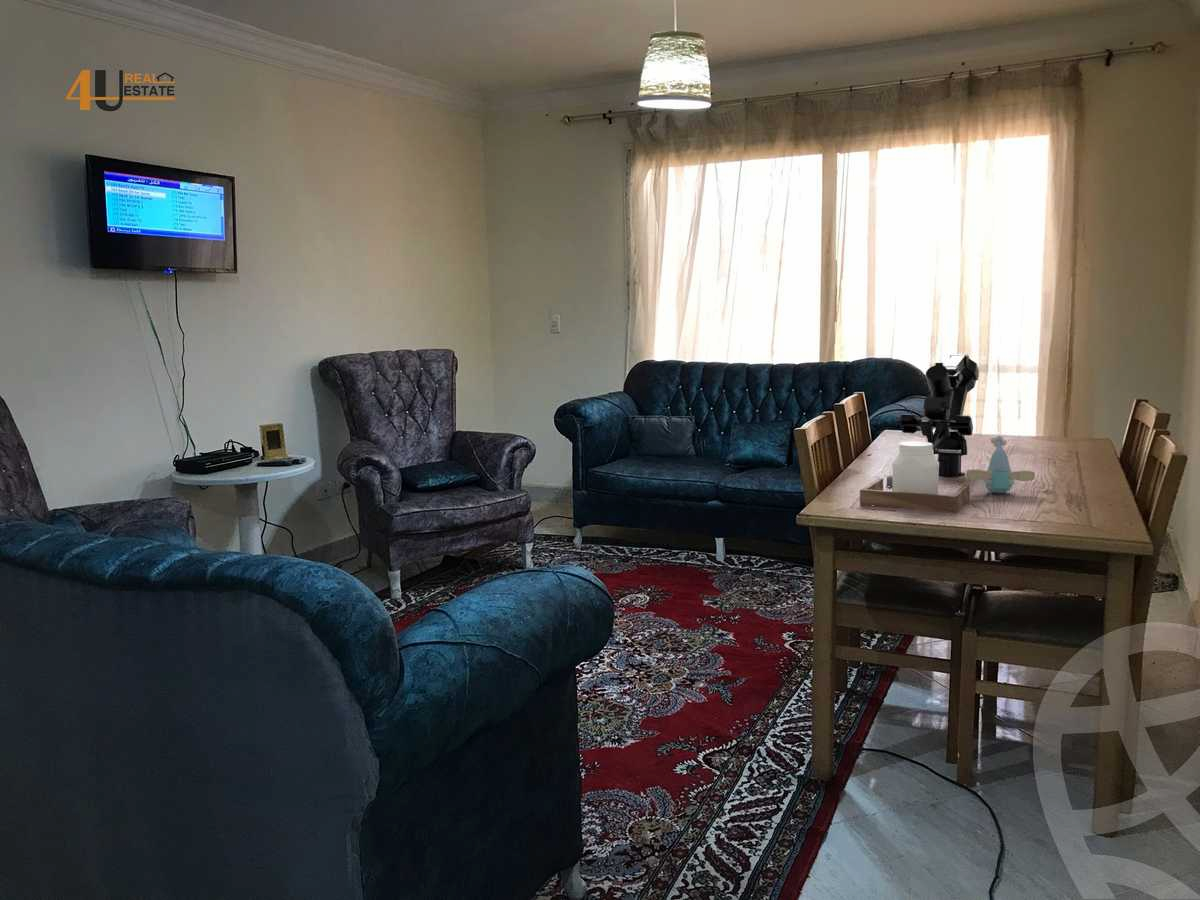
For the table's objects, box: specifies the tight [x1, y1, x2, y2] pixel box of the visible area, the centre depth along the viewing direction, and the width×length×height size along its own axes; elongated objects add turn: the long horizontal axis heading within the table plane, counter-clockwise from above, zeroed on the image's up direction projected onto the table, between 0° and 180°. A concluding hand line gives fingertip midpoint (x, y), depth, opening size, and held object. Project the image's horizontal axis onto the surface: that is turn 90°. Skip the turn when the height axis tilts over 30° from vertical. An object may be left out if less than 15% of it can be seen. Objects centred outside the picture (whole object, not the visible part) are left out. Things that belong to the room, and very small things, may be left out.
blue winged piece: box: [965, 434, 1036, 494], centre depth 251 cm, size 17×10×15 cm, turn 71°
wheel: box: [886, 474, 893, 488], centre depth 266 cm, size 6×6×3 cm
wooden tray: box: [859, 477, 971, 514], centre depth 244 cm, size 18×23×4 cm
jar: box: [891, 441, 940, 495], centre depth 245 cm, size 12×10×15 cm
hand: (930, 448), depth 257 cm, fingers closed
